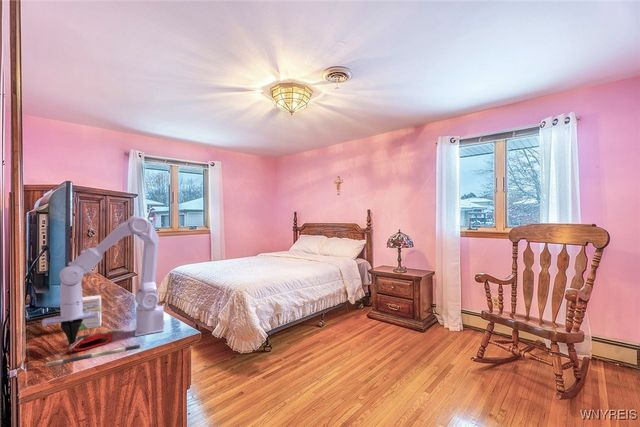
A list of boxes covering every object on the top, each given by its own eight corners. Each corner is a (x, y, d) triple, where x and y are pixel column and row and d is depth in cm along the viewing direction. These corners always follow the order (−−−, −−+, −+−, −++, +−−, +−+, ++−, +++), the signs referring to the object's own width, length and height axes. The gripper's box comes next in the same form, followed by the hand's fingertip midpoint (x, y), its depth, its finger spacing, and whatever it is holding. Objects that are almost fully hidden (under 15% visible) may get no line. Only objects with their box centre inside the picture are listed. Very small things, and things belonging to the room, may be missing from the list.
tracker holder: (83, 337, 107) (114, 327, 110) (85, 350, 107) (117, 339, 110) (64, 343, 96) (99, 331, 99) (67, 357, 95) (102, 345, 98)
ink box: (73, 331, 116) (72, 300, 116) (75, 327, 120) (75, 298, 120) (100, 326, 120) (100, 297, 120) (101, 322, 125) (101, 294, 125)
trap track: (141, 327, 119) (141, 325, 119) (139, 347, 100) (139, 345, 100) (63, 340, 107) (63, 338, 107) (45, 366, 89) (45, 364, 89)
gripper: (100, 296, 107) (101, 334, 107) (46, 302, 100) (47, 343, 100) (96, 301, 101) (97, 341, 101) (39, 308, 94) (40, 351, 94)
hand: (72, 343), depth 100 cm, fingers closed
